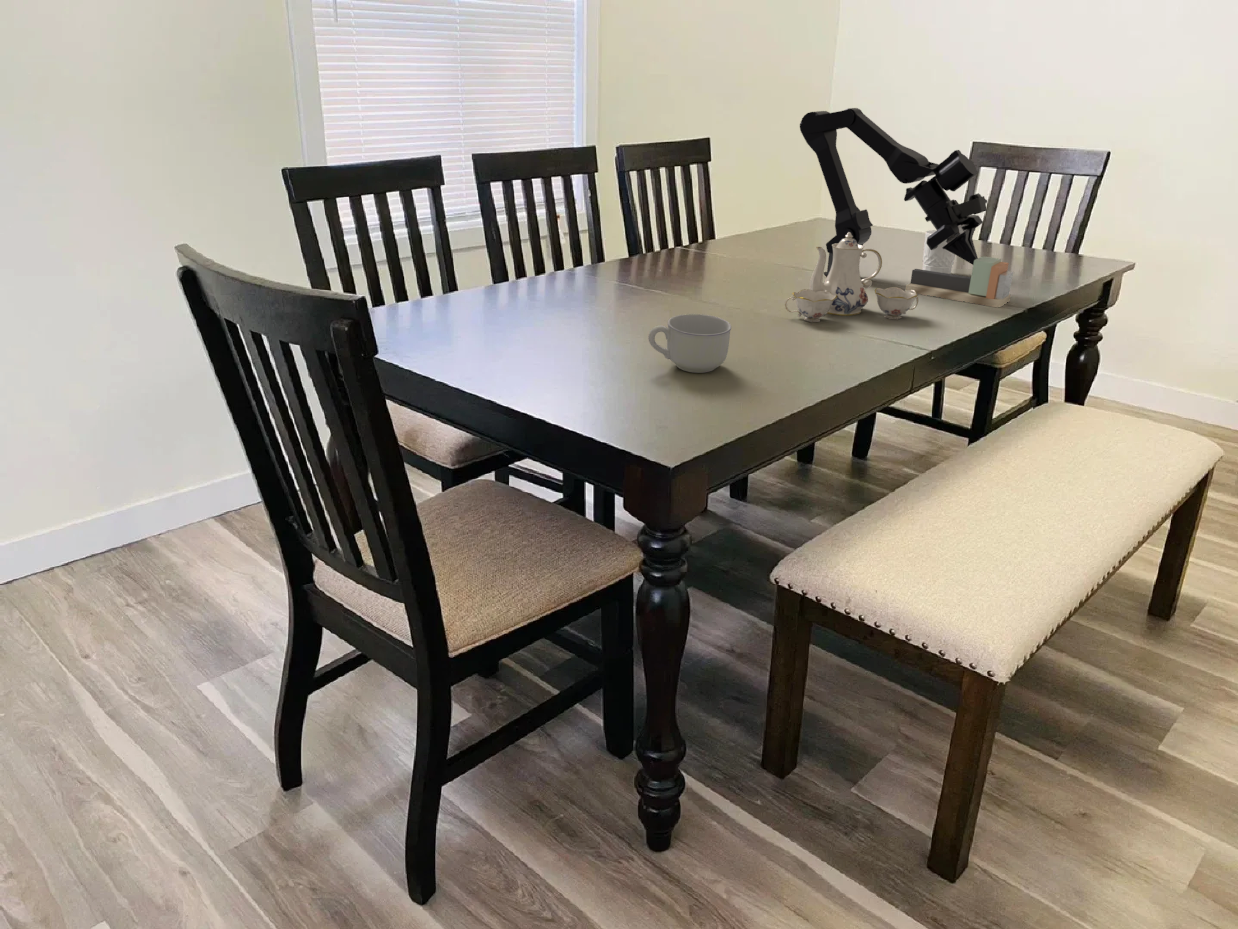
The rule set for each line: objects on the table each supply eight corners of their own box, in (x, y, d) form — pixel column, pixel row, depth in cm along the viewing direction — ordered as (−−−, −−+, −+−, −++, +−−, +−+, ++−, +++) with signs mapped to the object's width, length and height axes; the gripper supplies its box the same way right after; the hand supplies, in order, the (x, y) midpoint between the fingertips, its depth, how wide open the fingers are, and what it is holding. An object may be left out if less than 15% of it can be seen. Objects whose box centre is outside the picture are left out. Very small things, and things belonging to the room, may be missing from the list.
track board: (905, 291, 208) (906, 285, 208) (917, 286, 213) (918, 279, 213) (999, 307, 197) (1000, 300, 196) (1009, 301, 202) (1010, 294, 201)
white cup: (948, 271, 229) (955, 230, 225) (956, 278, 222) (963, 236, 217) (916, 270, 229) (922, 229, 225) (922, 277, 222) (929, 235, 218)
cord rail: (910, 283, 210) (912, 270, 208) (913, 281, 211) (915, 268, 210) (997, 297, 199) (999, 283, 197) (1000, 295, 200) (1002, 282, 199)
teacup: (723, 357, 162) (726, 313, 159) (732, 378, 152) (736, 331, 149) (645, 357, 162) (646, 313, 158) (648, 377, 152) (650, 330, 148)
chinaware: (799, 336, 181) (812, 253, 172) (766, 306, 195) (776, 228, 186) (925, 327, 188) (943, 248, 179) (884, 299, 202) (898, 224, 193)
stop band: (985, 297, 198) (991, 266, 195) (995, 292, 203) (1001, 261, 200) (993, 299, 197) (999, 267, 194) (1002, 293, 202) (1008, 262, 199)
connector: (995, 298, 198) (999, 274, 196) (1002, 294, 201) (1006, 270, 199) (1001, 299, 197) (1006, 275, 195) (1008, 295, 200) (1013, 271, 198)
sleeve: (968, 293, 200) (974, 260, 197) (976, 288, 204) (982, 256, 201) (986, 296, 198) (992, 262, 195) (995, 291, 202) (1001, 258, 199)
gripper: (951, 185, 189) (994, 248, 188) (982, 177, 203) (1022, 235, 201) (908, 218, 197) (949, 279, 196) (940, 208, 210) (979, 265, 209)
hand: (976, 263), depth 200 cm, fingers closed, pressing on sleeve
